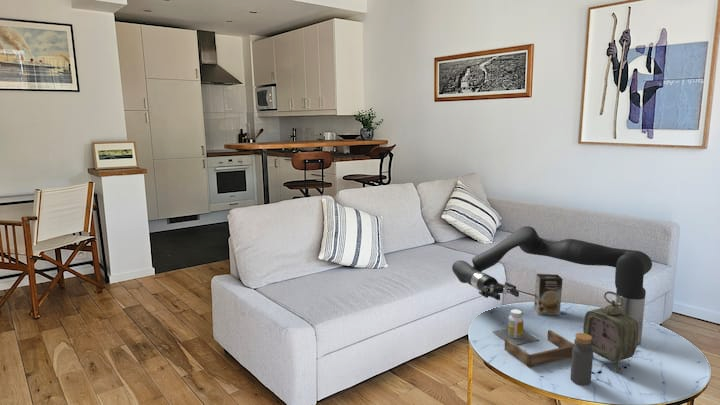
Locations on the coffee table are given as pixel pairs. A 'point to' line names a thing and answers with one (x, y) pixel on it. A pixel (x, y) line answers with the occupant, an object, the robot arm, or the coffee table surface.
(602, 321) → the tabletop clock
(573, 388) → the coffee table surface
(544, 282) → the coffee box
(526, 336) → the rubber mat
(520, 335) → the supplement bottle
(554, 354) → the walnut u-shaped bay
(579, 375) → the bottle
